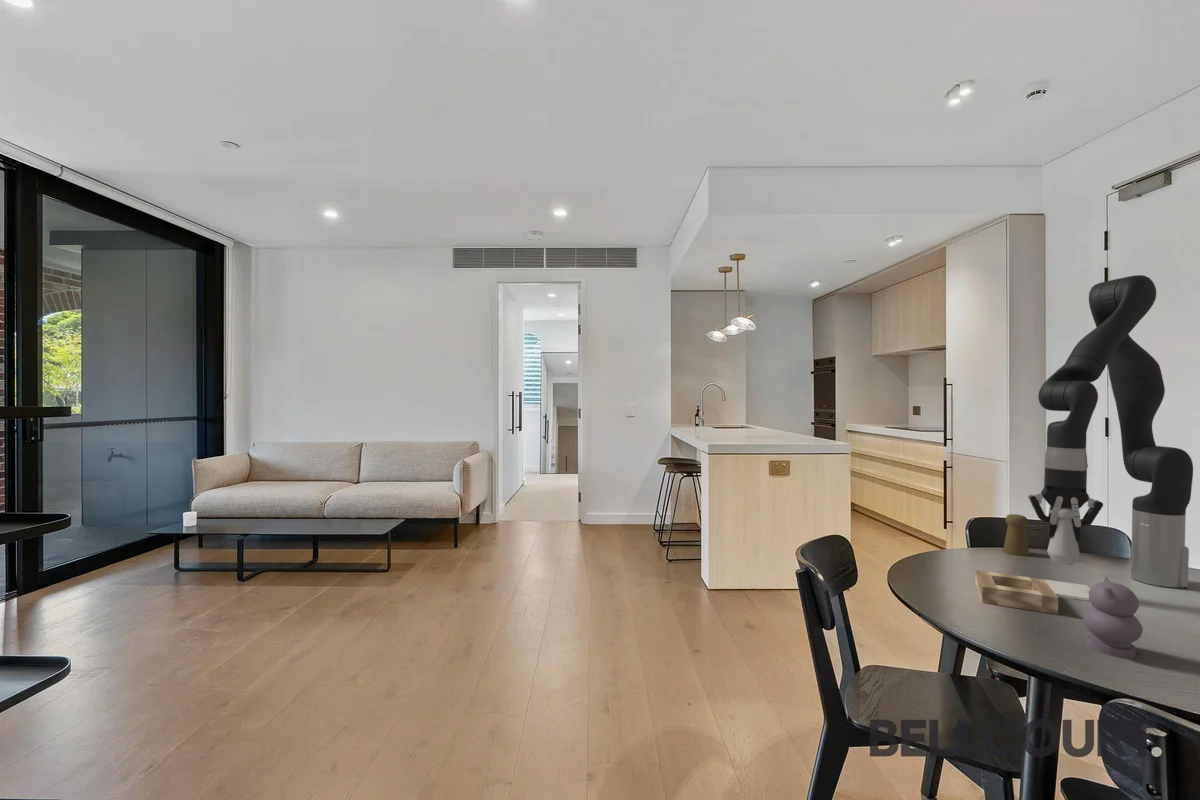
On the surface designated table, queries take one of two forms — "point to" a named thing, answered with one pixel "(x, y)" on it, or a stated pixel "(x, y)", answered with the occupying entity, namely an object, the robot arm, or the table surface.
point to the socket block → (1016, 591)
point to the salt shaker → (1064, 540)
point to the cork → (1016, 535)
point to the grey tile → (1069, 590)
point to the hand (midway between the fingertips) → (1063, 540)
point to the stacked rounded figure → (1112, 619)
